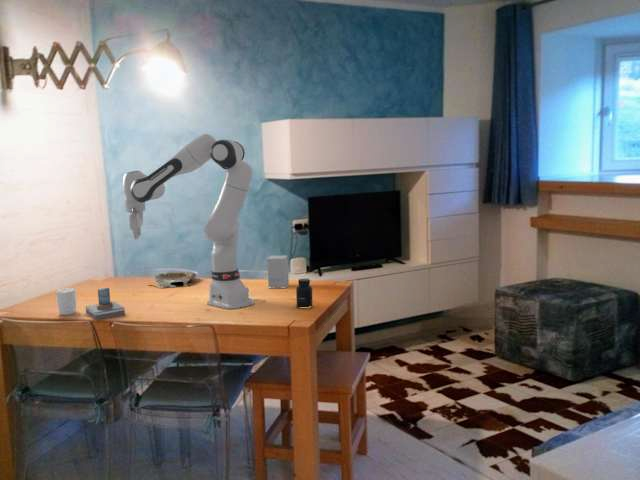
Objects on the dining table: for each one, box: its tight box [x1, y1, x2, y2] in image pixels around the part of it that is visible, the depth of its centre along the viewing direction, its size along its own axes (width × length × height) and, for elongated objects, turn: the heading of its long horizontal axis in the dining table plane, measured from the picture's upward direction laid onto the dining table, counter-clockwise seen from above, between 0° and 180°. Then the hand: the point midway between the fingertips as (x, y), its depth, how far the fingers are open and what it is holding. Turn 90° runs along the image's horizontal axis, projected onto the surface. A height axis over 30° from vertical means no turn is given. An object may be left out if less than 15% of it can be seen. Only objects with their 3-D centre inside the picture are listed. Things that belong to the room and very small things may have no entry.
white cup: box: [55, 287, 77, 316], centre depth 254 cm, size 8×8×10 cm
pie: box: [149, 271, 197, 289], centre depth 310 cm, size 28×27×5 cm
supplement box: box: [266, 255, 290, 289], centre depth 292 cm, size 9×9×15 cm
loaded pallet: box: [97, 287, 113, 309], centre depth 250 cm, size 7×5×8 cm
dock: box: [84, 301, 126, 320], centre depth 251 cm, size 14×12×3 cm
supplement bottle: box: [295, 278, 313, 308], centre depth 252 cm, size 7×7×12 cm
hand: (137, 237), depth 271 cm, fingers open, 8 cm apart
